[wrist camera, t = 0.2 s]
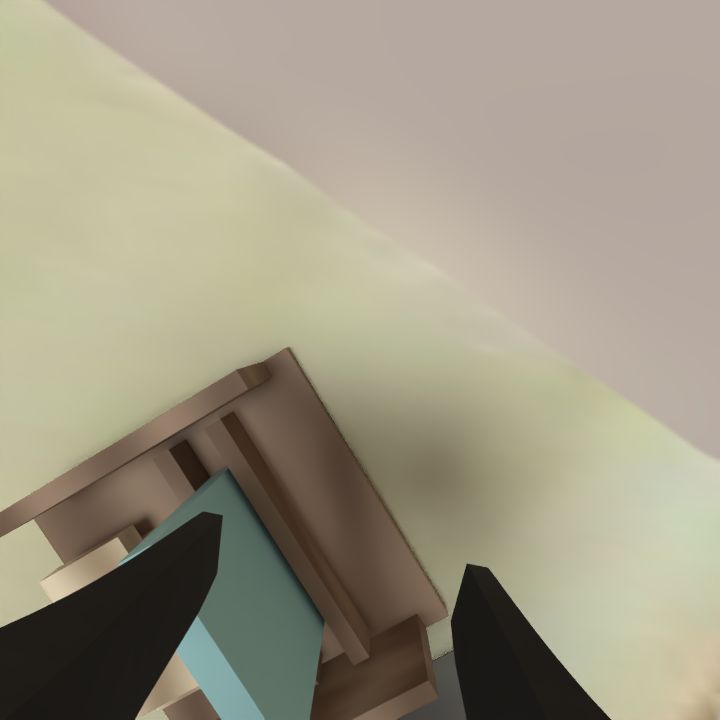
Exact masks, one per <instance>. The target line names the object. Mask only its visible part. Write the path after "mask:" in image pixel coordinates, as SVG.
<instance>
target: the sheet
mask: <svg viewBox="0 0 720 720" xmlns="http://www.w3.org/2000/svg"><path fill="white" fill-rule="evenodd" d="M203 511H204V512H209V513H214V514H219V515H223V521H222V531H221V541H220V551H219V561H218V571H217V575H216V577H215V580H214V582H213V584H212V586H211V588H210V591H209V593H208V595H207V597H206V599H205V601H204V603H203V605H202V607H201V609H200V611H199V613H198V615H197V616H196V618H195V620H194V622H193V623H192V625H191V627H190V628H189V630H188V632H187V633H186V635H185V637H184V638H183V640H182V642H181V643H180V645H179V647H178V648H177V650H176V652H177V654H178V655H179V657H180V658H181V660H182V661H183V663H184V664H185V666H186V667H187V669H188V670H189V672H190V673H191V675H192V676H193V678H194V679H195V681H196V682H197V684H198V685H199V687H200V688H201V690H202V691H203V693H204V694H205V696H206V697H207V699H208V700H209V702H210V703H211V705H212V706H213V708H214V709H215V711H216V712H217V714H218V715H219V717H220V718H221V720H310V713H311V707H312V700H313V694H314V687H315V681H316V674H317V668H318V662H319V655H320V649H321V642H322V636H323V629H324V623H325V620H324V618H323V616H322V615H321V613H320V612H319V610H318V609H317V607H316V605H315V604H314V602H313V601H312V599H311V597H310V596H309V594H308V593H307V591H306V590H305V588H304V586H303V585H302V583H301V582H300V580H299V578H298V577H297V575H296V574H295V572H294V571H293V569H292V567H291V566H290V564H289V563H288V561H287V559H286V558H285V556H284V555H283V553H282V552H281V550H280V548H279V547H278V545H277V544H276V542H275V540H274V539H273V537H272V536H271V534H270V533H269V531H268V529H267V528H266V526H265V525H264V523H263V521H262V520H261V518H260V517H259V515H258V514H257V512H256V510H255V509H254V507H253V506H252V504H251V503H250V501H249V499H248V498H247V496H246V495H245V493H244V491H243V490H242V488H241V487H240V485H239V484H238V482H237V480H236V479H235V477H234V476H233V474H232V472H231V471H230V469H229V468H228V466H227V467H225V468H223V469H221V470H220V471H218V472H216V473H215V474H214V475H213V476H212V477H211V478H210V479H208V480H207V481H206V482H205V483H204V484H203V485H202V486H201V487H200V488H199V489H198V490H197V491H196V492H195V493H193V494H192V495H191V496H190V497H189V498H188V499H187V500H186V501H185V502H184V503H183V504H182V505H181V506H179V507H178V508H177V509H176V510H175V511H174V512H173V513H172V514H171V515H170V516H169V517H168V518H167V519H165V520H164V521H163V522H162V523H161V524H160V525H159V526H158V527H157V528H156V529H155V530H154V531H153V532H151V533H150V534H149V535H148V536H147V537H146V538H145V539H144V540H143V541H142V542H141V543H140V544H139V545H138V546H136V547H135V548H134V549H133V550H132V551H131V552H130V553H129V554H128V555H127V556H126V557H125V558H124V559H122V560H121V561H120V562H119V563H118V565H119V566H120V565H122V564H124V563H125V562H127V561H128V560H130V559H132V558H133V557H135V556H136V555H138V554H139V553H141V552H143V551H144V550H146V549H147V548H149V547H150V546H152V545H153V544H155V543H156V542H158V541H159V540H161V539H162V538H164V537H165V536H167V535H168V534H170V533H171V532H173V531H174V530H176V529H177V528H179V527H180V526H182V525H183V524H184V523H186V522H187V521H189V520H190V519H192V518H193V517H195V516H197V515H198V514H200V513H201V512H203Z"/></svg>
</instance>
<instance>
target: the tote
mask: <svg viewBox="0 0 720 720" xmlns="http://www.w3.org/2000/svg"><path fill="white" fill-rule="evenodd" d="M432 663H433V668H434V674H435V679H436V684H437V690H438V695H439V698H437V699H435V700H433V701H431V702H429V703H427V704H425V705H423V706H421V707H419V708H417V709H415V710H413V711H411V712H410V713H408V714H406V715H404V716H402V717H400V718H398V719H396V720H467V719H466V714H465V709H464V705H463V700H462V695H461V690H460V685H459V680H458V675H457V670H456V665H455V657H454V651H452V652H450V653H448V654H446V655H444V656H442V657H440V658H438V659H437V660H435V661H433V662H432Z"/></svg>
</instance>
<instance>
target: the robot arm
mask: <svg viewBox="0 0 720 720" xmlns="http://www.w3.org/2000/svg"><path fill="white" fill-rule="evenodd" d="M222 521H223V515H219V514H214V513H209V512H204V511H203V512H201V513H200V514H198V515H197V516H195V517H193V518H192V519H190V520H189V521H187V522H186V523H184V524H183V525H182V526H180V527H179V528H177V529H176V530H174V531H173V532H171V533H170V534H168V535H167V536H165V537H164V538H162V539H161V540H159V541H158V542H156V543H155V544H153V545H152V546H150V547H149V548H147V549H146V550H144V551H143V552H141V553H139V554H138V555H136V556H135V557H133V558H132V559H130V560H128V561H127V562H125V563H124V564H122V565H120V566H119V567H117V568H115V569H114V570H112V571H110V572H109V573H107V574H105V575H104V576H102V577H100V578H99V579H97V580H95V581H93V582H92V583H90V584H88V585H86V586H84V587H83V588H81V589H79V590H77V591H75V592H73V593H71V594H70V595H68V596H66V597H64V598H62V599H60V600H58V601H56V602H54V603H52V604H50V605H48V606H46V607H44V608H42V609H40V610H38V611H36V612H34V613H32V614H30V615H27V616H25V617H23V618H21V619H19V620H16V621H14V622H12V623H10V624H8V625H5V626H3V627H1V628H0V720H135V719H136V717H137V715H138V713H139V712H140V710H141V708H142V706H143V704H144V703H145V701H146V699H147V698H148V696H149V694H150V693H151V691H152V690H153V688H154V686H155V685H156V683H157V681H158V680H159V678H160V676H161V675H162V673H163V671H164V670H165V668H166V666H167V665H168V663H169V661H170V660H171V658H172V656H173V655H174V653H175V652H176V650H177V648H178V647H179V645H180V643H181V642H182V640H183V638H184V637H185V635H186V633H187V632H188V630H189V628H190V627H191V625H192V623H193V622H194V620H195V618H196V616H197V615H198V613H199V611H200V609H201V607H202V605H203V603H204V601H205V599H206V597H207V595H208V593H209V591H210V588H211V586H212V584H213V582H214V580H215V577H216V575H217V571H218V561H219V551H220V541H221V531H222ZM451 628H452V639H453V648H454V657H455V665H456V670H457V675H458V680H459V685H460V690H461V695H462V700H463V705H464V709H465V714H466V719H467V720H611V719H610V718H609V717H608V716H607V715H606V714H605V713H604V712H603V710H602V709H601V708H600V707H599V706H598V705H597V704H596V703H595V702H594V701H593V700H592V699H591V697H590V696H589V695H588V694H587V693H586V692H585V691H584V690H583V688H582V687H581V686H580V685H579V684H578V683H577V681H576V680H575V679H574V678H573V677H572V675H571V674H570V673H569V672H568V671H567V669H566V668H565V667H564V666H563V665H562V664H561V662H560V661H559V660H558V659H557V658H556V656H555V655H554V654H553V653H552V651H551V650H550V649H549V648H548V646H547V645H546V644H545V643H544V641H543V640H542V639H541V638H540V636H539V635H538V634H537V632H536V631H535V630H534V629H533V627H532V626H531V625H530V623H529V622H528V621H527V619H526V618H525V617H524V615H523V614H522V613H521V611H520V610H519V609H518V607H517V606H516V605H515V603H514V602H513V601H512V599H511V598H510V597H509V595H508V594H507V592H506V591H505V590H504V588H503V587H502V586H501V584H500V583H499V582H498V580H497V579H496V577H495V576H494V575H493V573H492V572H491V571H490V570H489V568H487V567H482V566H477V565H471V564H467V565H466V569H465V572H464V576H463V579H462V583H461V587H460V590H459V594H458V597H457V601H456V605H455V608H454V612H453V615H452V619H451Z"/></svg>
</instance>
